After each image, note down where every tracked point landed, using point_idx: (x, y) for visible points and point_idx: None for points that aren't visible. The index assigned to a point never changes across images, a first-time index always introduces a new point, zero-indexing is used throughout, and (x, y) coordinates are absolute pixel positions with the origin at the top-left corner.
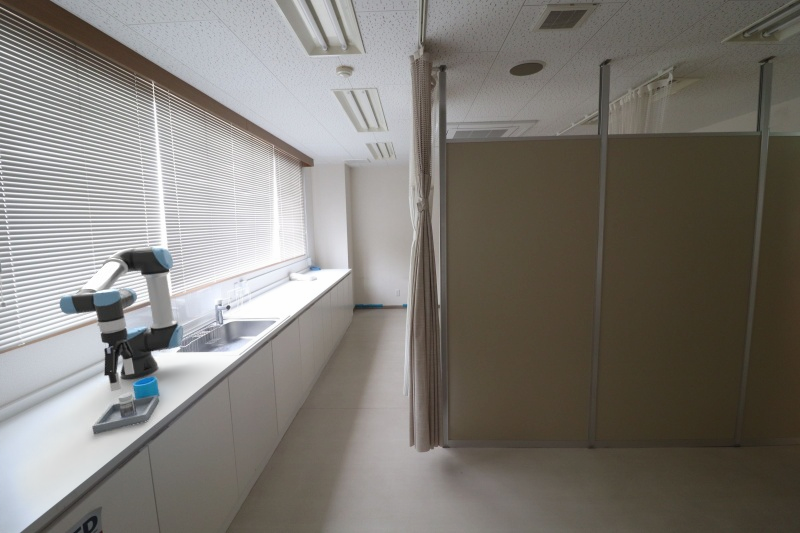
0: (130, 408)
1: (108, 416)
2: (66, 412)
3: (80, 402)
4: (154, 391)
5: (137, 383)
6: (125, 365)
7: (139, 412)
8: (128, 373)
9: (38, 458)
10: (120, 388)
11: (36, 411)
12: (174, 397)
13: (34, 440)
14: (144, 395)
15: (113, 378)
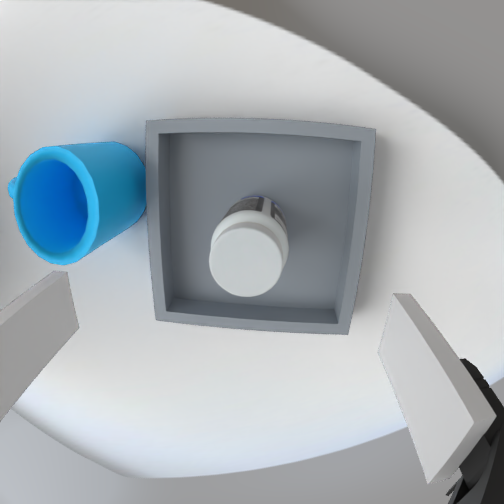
0: (280, 217)
1: (232, 305)
2: (123, 413)
3: (74, 393)
4: (107, 149)
5: (52, 246)
6: (26, 370)
7: (258, 180)
8: (69, 311)
9: (390, 400)
10: (409, 297)
11: (101, 451)
12: (159, 60)
13: (267, 439)
14: (131, 189)
15: (488, 401)
